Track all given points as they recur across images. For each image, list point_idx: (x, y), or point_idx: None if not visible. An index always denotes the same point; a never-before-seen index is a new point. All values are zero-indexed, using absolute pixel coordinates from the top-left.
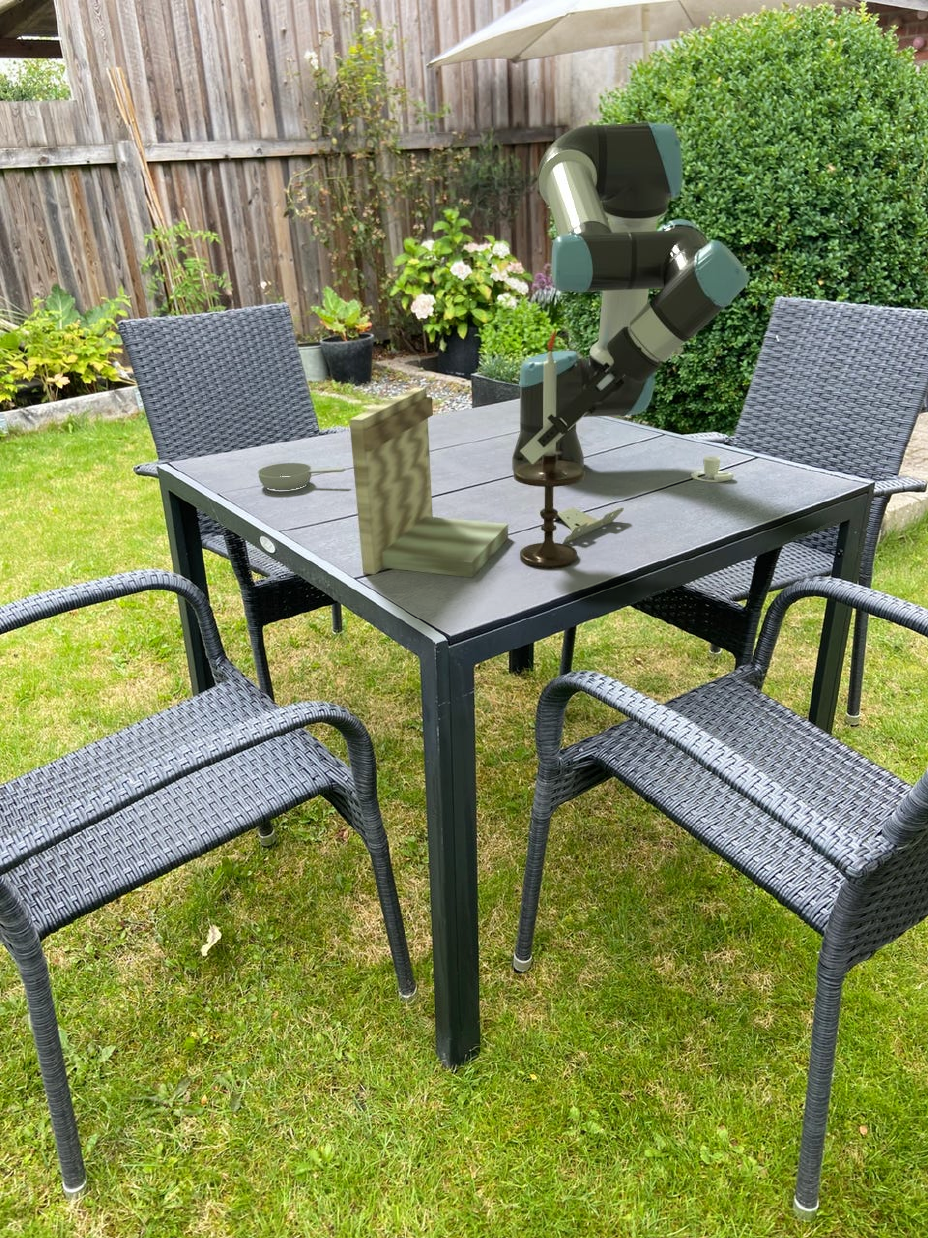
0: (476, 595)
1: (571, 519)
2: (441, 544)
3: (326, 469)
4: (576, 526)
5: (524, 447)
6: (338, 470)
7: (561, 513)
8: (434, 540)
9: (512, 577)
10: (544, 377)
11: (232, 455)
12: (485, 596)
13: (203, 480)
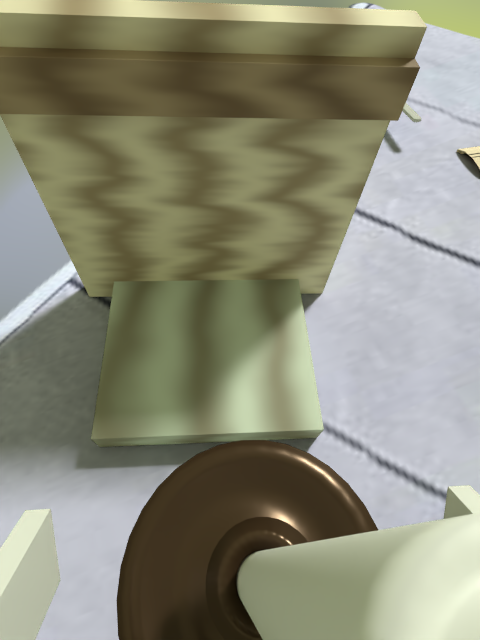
0: (13, 489)
1: None
2: (172, 351)
3: (406, 105)
4: None
5: (10, 536)
6: (410, 116)
7: None
8: (188, 333)
9: (113, 527)
10: (314, 569)
11: (430, 29)
12: (9, 509)
13: None
